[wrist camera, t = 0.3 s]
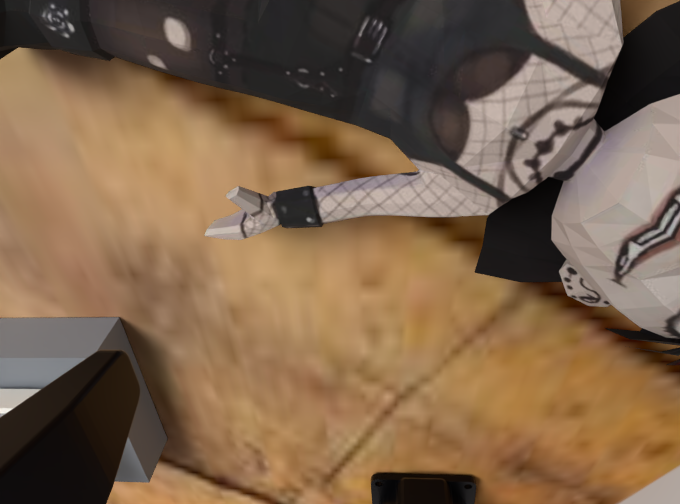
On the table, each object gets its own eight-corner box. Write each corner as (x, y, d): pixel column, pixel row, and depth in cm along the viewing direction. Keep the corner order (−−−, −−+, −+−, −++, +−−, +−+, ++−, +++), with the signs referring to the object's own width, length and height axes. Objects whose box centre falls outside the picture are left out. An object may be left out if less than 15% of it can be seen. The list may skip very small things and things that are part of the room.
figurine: (-244, -1426, 5) (1584, 71, 8) (167, -604, 13) (1030, 12, 16) (-162, 147, 15) (652, 566, 18) (43, 81, 23) (590, 382, 26)
